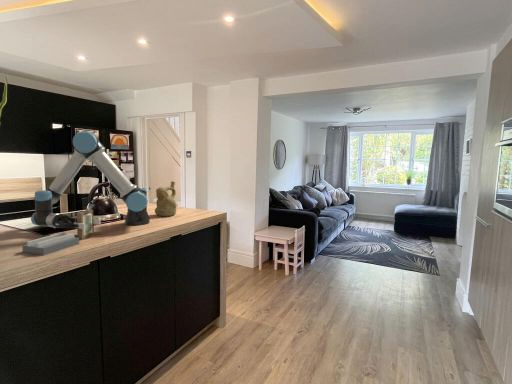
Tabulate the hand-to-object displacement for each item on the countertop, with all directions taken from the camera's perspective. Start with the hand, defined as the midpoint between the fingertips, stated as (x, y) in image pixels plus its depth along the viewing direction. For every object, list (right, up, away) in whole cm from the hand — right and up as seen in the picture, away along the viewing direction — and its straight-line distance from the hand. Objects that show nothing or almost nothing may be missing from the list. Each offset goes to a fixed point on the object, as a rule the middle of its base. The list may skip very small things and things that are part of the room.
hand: (92, 224), depth 151 cm
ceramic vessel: (+18, -1, +67) cm, 69 cm away
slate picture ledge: (-10, -9, -16) cm, 21 cm away
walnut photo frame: (-5, -7, +2) cm, 9 cm away
